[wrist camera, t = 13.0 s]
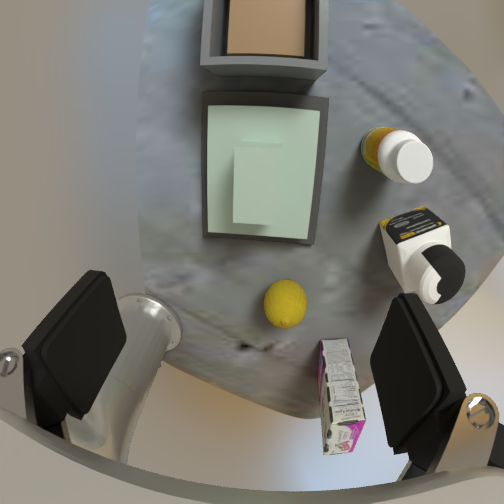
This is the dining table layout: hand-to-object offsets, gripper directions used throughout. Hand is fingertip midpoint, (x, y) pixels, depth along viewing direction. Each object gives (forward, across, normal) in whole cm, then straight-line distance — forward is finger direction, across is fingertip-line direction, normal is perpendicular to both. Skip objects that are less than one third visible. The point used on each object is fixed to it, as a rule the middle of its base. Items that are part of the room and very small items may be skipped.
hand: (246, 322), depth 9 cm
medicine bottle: (+27, -19, +8) cm, 34 cm away
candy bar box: (+27, -13, +32) cm, 43 cm away
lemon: (+27, -3, +16) cm, 32 cm away
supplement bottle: (+27, -13, -4) cm, 30 cm away
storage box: (+27, +1, -18) cm, 32 cm away
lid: (+25, +1, 0) cm, 25 cm away
